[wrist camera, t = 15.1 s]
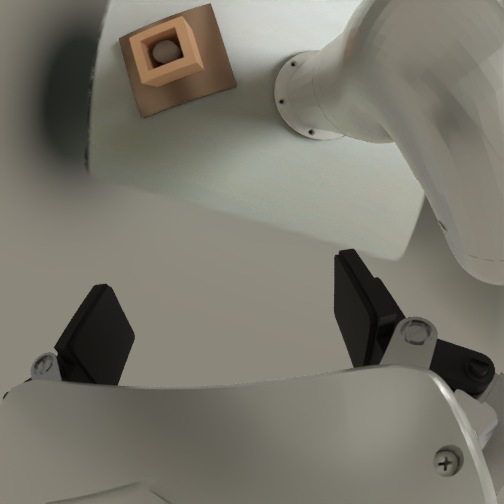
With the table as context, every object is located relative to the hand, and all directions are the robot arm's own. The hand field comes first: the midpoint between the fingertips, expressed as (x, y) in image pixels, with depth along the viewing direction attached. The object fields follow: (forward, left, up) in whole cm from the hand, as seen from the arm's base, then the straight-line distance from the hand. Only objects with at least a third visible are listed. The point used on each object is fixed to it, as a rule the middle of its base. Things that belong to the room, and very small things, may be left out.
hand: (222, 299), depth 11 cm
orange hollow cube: (+4, -17, -28) cm, 33 cm away
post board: (+4, -17, -29) cm, 34 cm away
